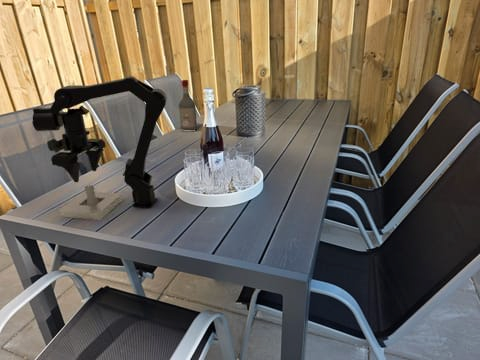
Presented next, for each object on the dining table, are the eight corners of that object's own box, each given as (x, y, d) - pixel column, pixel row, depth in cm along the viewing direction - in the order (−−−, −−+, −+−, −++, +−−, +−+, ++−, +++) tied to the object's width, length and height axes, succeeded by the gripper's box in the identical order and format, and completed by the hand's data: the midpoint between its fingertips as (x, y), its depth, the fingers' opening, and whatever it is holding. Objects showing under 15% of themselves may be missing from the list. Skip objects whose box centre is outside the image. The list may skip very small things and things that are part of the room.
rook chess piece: (97, 203, 111) (92, 182, 108) (103, 207, 108) (98, 186, 105) (84, 208, 108) (79, 186, 105) (90, 212, 105) (85, 190, 102)
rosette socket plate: (123, 200, 113) (122, 193, 112) (100, 220, 100) (98, 213, 99) (88, 197, 116) (86, 191, 115) (61, 216, 103) (59, 209, 102)
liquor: (195, 131, 196) (191, 81, 183) (180, 132, 196) (175, 81, 184) (197, 128, 204) (193, 79, 192) (183, 128, 204) (178, 79, 192)
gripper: (72, 121, 107) (82, 164, 113) (28, 136, 90) (42, 186, 96) (102, 122, 105) (110, 166, 111) (62, 138, 88) (75, 189, 94)
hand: (85, 176), depth 103 cm, fingers open, 9 cm apart
